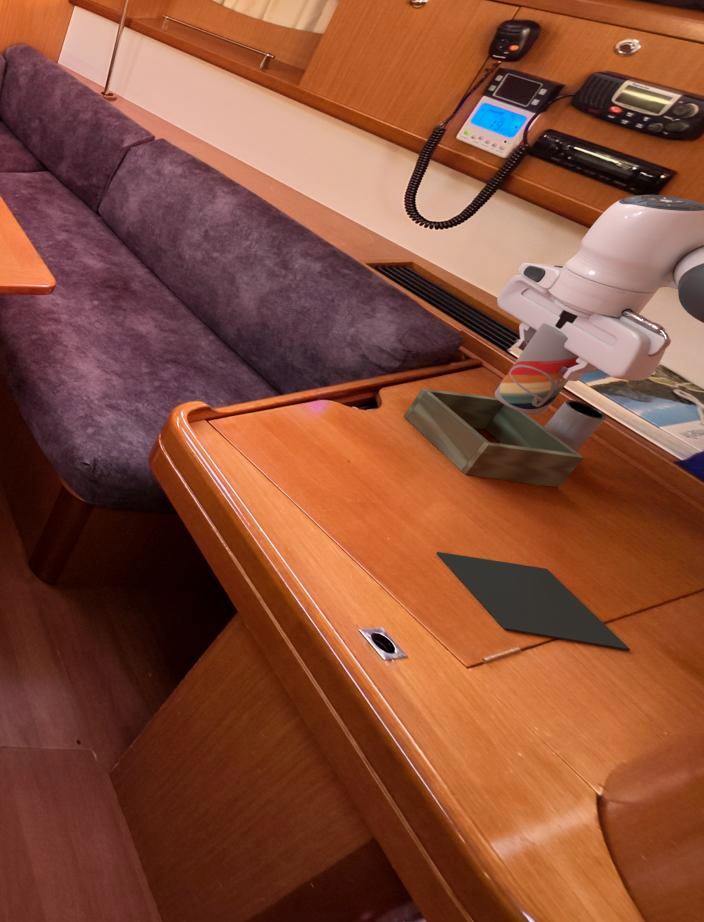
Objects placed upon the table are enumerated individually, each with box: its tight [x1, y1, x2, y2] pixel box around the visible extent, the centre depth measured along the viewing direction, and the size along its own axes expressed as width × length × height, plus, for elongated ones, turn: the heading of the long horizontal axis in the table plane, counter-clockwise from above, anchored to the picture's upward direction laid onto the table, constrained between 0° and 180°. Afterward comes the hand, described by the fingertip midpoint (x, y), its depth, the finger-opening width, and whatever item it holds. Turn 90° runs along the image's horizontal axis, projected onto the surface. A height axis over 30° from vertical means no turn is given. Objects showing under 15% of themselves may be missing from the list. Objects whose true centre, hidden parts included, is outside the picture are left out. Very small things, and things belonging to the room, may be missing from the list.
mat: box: [436, 551, 631, 652], centre depth 86 cm, size 14×11×1 cm
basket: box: [403, 388, 585, 488], centre depth 109 cm, size 14×14×7 cm
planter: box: [543, 399, 607, 453], centre depth 108 cm, size 4×4×10 cm
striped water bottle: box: [494, 310, 579, 416], centre depth 100 cm, size 6×6×20 cm
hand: (544, 363), depth 101 cm, fingers closed on striped water bottle, 5 cm apart
